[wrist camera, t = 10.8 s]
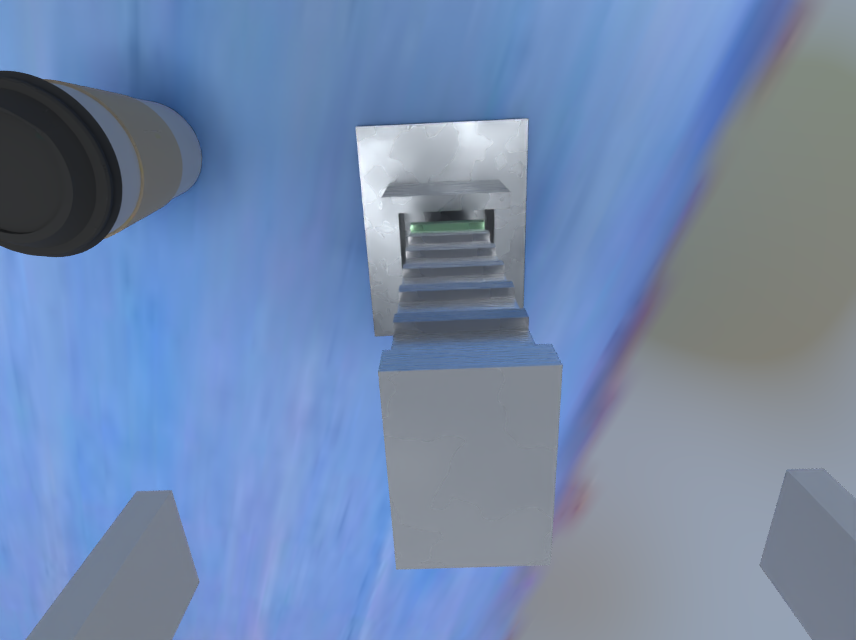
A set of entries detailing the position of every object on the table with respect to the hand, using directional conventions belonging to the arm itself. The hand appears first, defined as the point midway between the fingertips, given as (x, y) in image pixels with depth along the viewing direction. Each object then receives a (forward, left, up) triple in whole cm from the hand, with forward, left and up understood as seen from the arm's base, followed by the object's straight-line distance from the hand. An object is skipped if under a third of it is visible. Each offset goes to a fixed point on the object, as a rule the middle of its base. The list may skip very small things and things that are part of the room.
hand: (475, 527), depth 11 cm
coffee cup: (-21, +7, -31) cm, 38 cm away
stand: (0, 0, -31) cm, 31 cm away
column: (0, 0, -23) cm, 23 cm away
